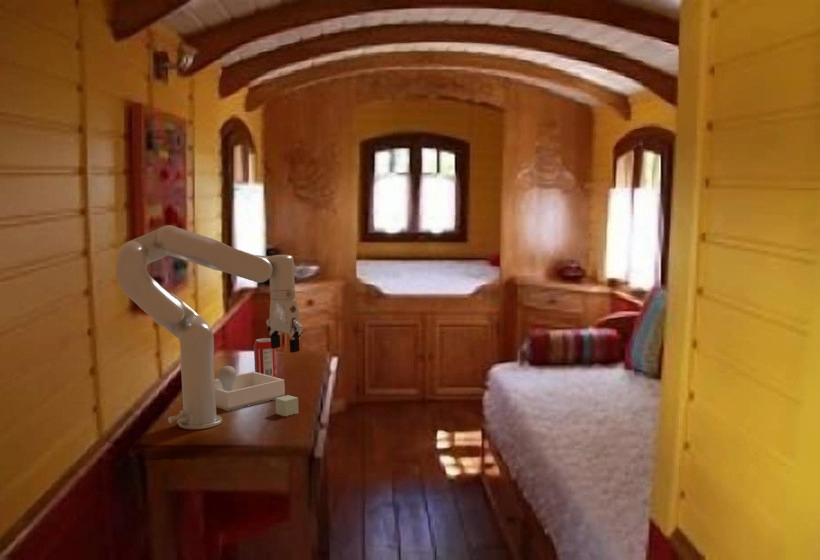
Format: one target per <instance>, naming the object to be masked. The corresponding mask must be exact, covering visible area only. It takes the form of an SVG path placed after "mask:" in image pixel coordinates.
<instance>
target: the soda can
mask: <svg viewBox="0 0 820 560" xmlns="http://www.w3.org/2000/svg"><path fill="white" fill-rule="evenodd" d="M253 355H254V356H253V357H254V358H253V360H254V361H253V362H254V372H257V373H261V374H265V375H269V376H272V377H276V378H278V377H277V376H278V372H277V371H278V369H277V368H278V367H277V348H273V349H272V348H271V337H268V338H267V337H263V338H258V339H257V338H256V339H255V342H254V343H253Z"/></svg>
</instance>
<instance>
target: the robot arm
mask: <svg viewBox="0 0 820 560" xmlns="http://www.w3.org/2000/svg"><path fill="white" fill-rule="evenodd" d="M167 256H170V257H173V258H177V259H180V260H182V261H186V262H189V263H193V264H195V265H199V266H202V267H205V268H208V269H211V270H214V271H219V272H223V273H227V274H229V275H233V276H236V277H239V278H242V279H245V280H249V281H252V282H253V283H254V282H255V283H265V282H266V281H268V280H269V291H270V292H269V293H270V294H269V295H270V301H269V302H270V303H269V318H267V319H266V320H265V322H266V325H267V326H266V327H267V331H268V332H269V333H268V335H269V336H270V338H271V348H272V349H273V348H276V349H278V348H280V347H281V335H280V334H279V333H284V334H288V337H289V338H290V339H289V352H290V353H292V354H293V353H297V352H300V339H301V335H302V333H303V332H302V331H303V329H304V326H303V324H301V320H300V319H301V318H300V309H299V305H298V302H297V299H296V285H295V282H296V281H295V263H294V261H295V260H294V257H293V256H292V255H289V254H275V255H274V254H273V255H260V254H259V255H258V254H257V255H256V254H252V253H249V252H246V251H244V250H241V249H237V248H234V247H233V246H230V245H227V244H226V243H224V242H222V241H219V240H218V239H214V238H210V237H208V236H205V235H201V234H199V233H196V232H194V231H189V230H187V229H184V228H180V227H179V226H178V227H177V226H176V225H170V224H169V225H164V226H161V227H159V228H157V229H155V230H153V231H151V232H148V233H146V234H144V235H141V236H139V237H136V238H134V239H131V240H129V241H126V242H125V243H123V244H122V245H121V246H120V248H119V250H118V251H117V259H116V260H117V261H116V265H115V278H116V281H117V283H118V286H119V287H120V289H121V290H122V292H123V293H124V294H125V295H126V296H127V297H128V298H129V299H130V300H131V301H132V302H134V304H136V305H137V306H138V307H139V308H140V309H141V310H142V311H144V313H146V314H147V315H148V316H149V317H150V318H152V319H151V320H152V321H154V322H155V323H156V324H157V325H159V326H161V327H163V328H165V329H166V330H167V331H169V332H170V333H171V334H172V335H173V336H174V337H175V338H176V339H177V340H179V345H180V346H179V349H180V351H179V352H180V371H181V372H180V375H181V390H182V391H181V392H182V408H183V409H181V410H180V411H179V413H178V414H176V415H173V416H168V419H167V421H168V423H169V424H174V423H177V424H178V427H180V428H182V429H185V430H205V429H209V428H214V427H216V426H219V425H220V424H221V423H222V422H223V419H222V418H223V417H222V416H220V415H219V414H217V407H216V398H215V380H216V379H215V362H214V361H215V358H214V355H215V354H214V351H215V348H214V347H215V337H214V332H213V330H212V327H211V326H210V324H209V323H208V322H207V321H206V320H205V318H203V317H202V316H201V315H199V314H198V313H197V312H196V311H195V310H194V309H193V308H191V307H190V306H189V305H188V304H187V303H186V302H184V300H182V298H180V297H179V296H177V295H176V294H175V293H172V292H169V291H167V289H165V288H164V287H163V286H162V285H161V284H159V283H158V282H157V280H155V279H154V278H153V277H152V276H151V275H150V274H149V272H148V265H149V264H151V263H154V262H156V261H158V260H161V259H163V258H165V257H167Z"/></svg>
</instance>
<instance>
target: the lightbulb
mask: <svg viewBox="0 0 820 560" xmlns="http://www.w3.org/2000/svg"><path fill="white" fill-rule="evenodd" d="M237 375H238V372H237V370H236V369H235V368H234V367H233V366H231V365H225V366H222V367H221V368H220V369H218V372H217V379H219V381H220V382H221V384H222V387H223V390H225V391H232V390H233V384H234V382H235V379H236V377H237Z"/></svg>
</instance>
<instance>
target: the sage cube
mask: <svg viewBox="0 0 820 560" xmlns="http://www.w3.org/2000/svg"><path fill="white" fill-rule="evenodd" d="M274 401H275V414H277V415H279V416H282V417H285V416H286V417H289V415H290V416H293V414H294V415H297V414H299V413H300V412H299V397H297V396H292V395H289V394H287V395H285V396H283V397H279V398H275V400H274Z"/></svg>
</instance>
